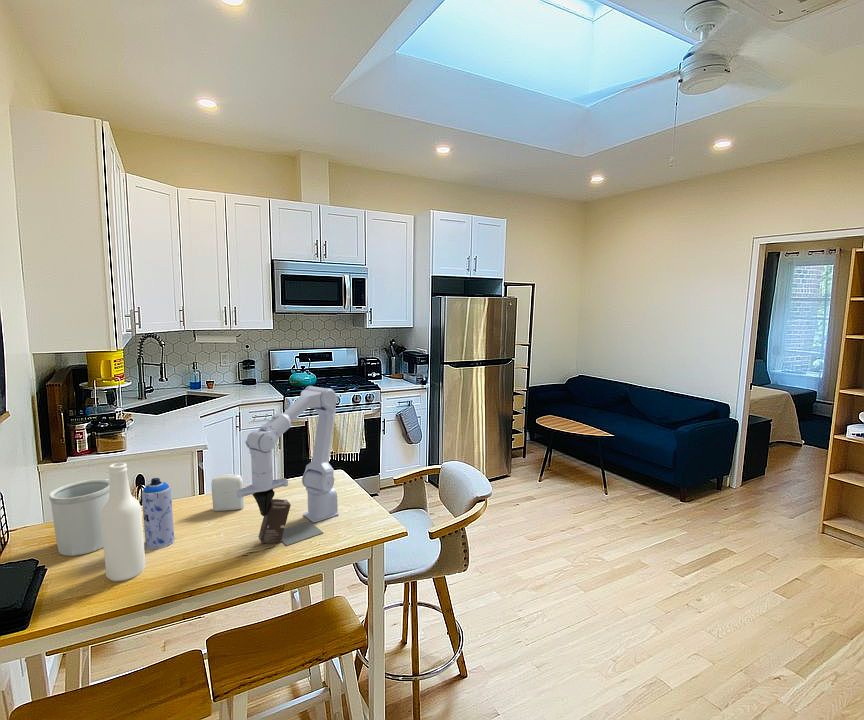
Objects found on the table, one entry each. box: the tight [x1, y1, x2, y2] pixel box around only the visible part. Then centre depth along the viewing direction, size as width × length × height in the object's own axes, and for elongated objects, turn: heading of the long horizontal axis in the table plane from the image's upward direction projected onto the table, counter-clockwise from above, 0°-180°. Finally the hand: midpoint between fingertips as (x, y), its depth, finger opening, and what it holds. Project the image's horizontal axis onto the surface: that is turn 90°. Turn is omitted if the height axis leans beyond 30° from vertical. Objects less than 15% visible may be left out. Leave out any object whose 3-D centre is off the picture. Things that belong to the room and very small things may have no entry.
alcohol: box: [101, 462, 146, 582], centre depth 123 cm, size 9×9×30 cm
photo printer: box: [211, 473, 245, 512], centre depth 162 cm, size 10×4×12 cm, turn 99°
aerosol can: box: [141, 477, 176, 550], centre depth 139 cm, size 8×8×20 cm
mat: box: [281, 520, 324, 547], centre depth 146 cm, size 12×10×1 cm
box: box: [258, 498, 292, 544], centre depth 140 cm, size 6×4×12 cm
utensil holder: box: [48, 478, 109, 557], centre depth 138 cm, size 15×15×18 cm
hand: (264, 514), depth 138 cm, fingers closed
